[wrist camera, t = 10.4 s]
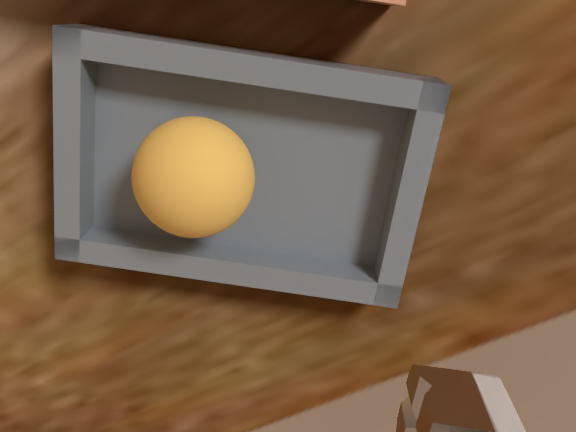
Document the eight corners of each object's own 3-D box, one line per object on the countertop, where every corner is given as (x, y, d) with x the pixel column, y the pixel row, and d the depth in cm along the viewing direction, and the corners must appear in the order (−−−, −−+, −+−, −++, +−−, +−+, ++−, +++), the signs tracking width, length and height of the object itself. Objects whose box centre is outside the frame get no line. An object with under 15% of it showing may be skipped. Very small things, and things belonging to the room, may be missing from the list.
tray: (437, 77, 21) (451, 85, 19) (389, 282, 24) (397, 308, 22) (78, 23, 21) (52, 25, 19) (77, 236, 24) (54, 258, 22)
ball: (287, 130, 19) (183, 138, 16) (271, 243, 21) (173, 269, 18) (211, 102, 22) (109, 105, 19) (201, 204, 24) (107, 222, 21)
